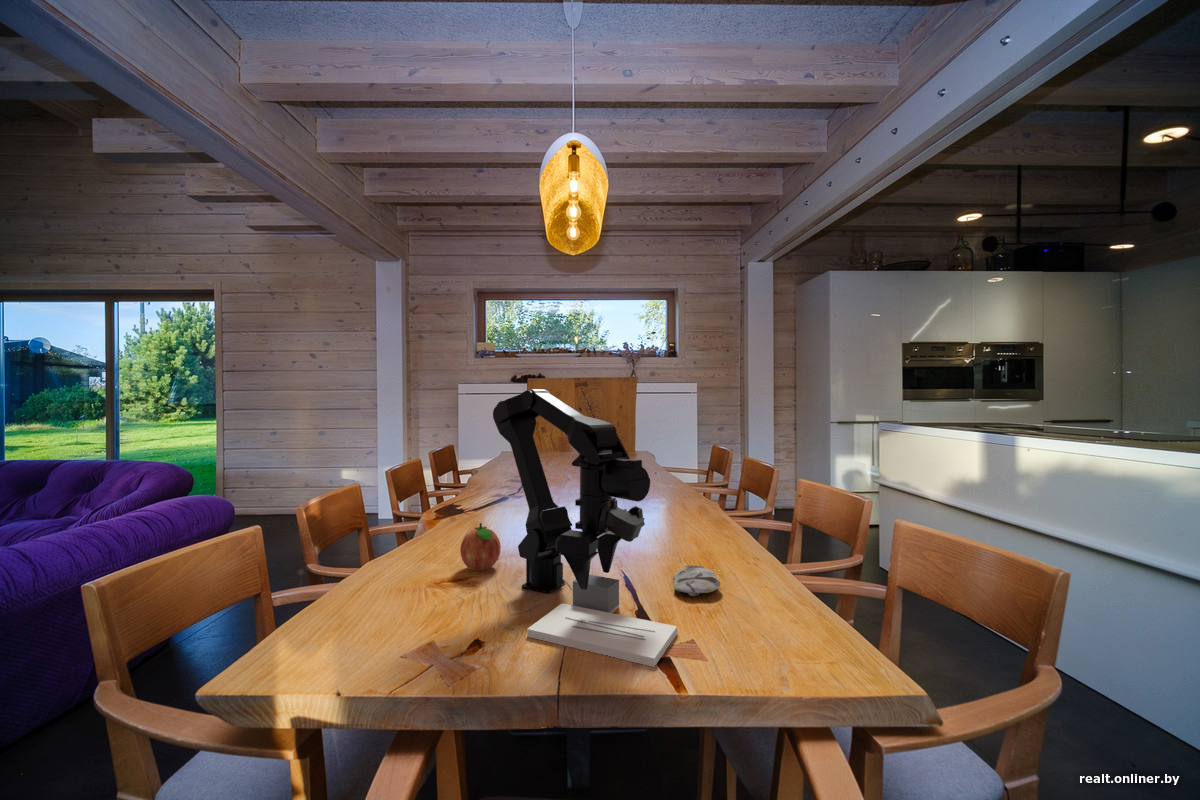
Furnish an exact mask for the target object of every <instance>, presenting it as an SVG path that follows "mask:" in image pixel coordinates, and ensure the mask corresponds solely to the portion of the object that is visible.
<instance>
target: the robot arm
mask: <svg viewBox="0 0 1200 800" xmlns="http://www.w3.org/2000/svg"><path fill="white" fill-rule="evenodd" d="M539 417H542V418H543V419H544V420H546V421H547V422H548V423H550V424H551V425H552V426H553V427H555V428H557V429H558V430H559V431H561V432H562V433H564V434H565V436H566V437H567V440H568V444H569V445H570V446H571V447H572V448H573V449H574V450H575V451H576V452H577V453H578V456H577V457H576V458H575V459H574V460H573V461H572V462H571V466H572V467H576V468H577V467H578V468H579V498H577V499H575V502H574V503H575V505H574V506H576V507H577V506H578V507H579V521H577V522H575V525H574V527H575V528H574V529H572V526H573V523H572V522H571V520H570V517H569V513H568V509H567V508H566V506H563V505H562V506H558V504H556V503H555V502H554V500H553V496H552V493H551V490H550V487H549V484H548V481H547V478H546V474H545V470H544V468H543V465H542V461H541V457H540V454H539V451H538V448H537V445H536V441H535V438H534V434H535V430H536V429H537V428H536V427H537V424H538V423H537V418H539ZM492 418H493V421H494V423H495V426H496V428H497V430H498V433H499V435H501V437H503V438H504V439H505V440H506V441H507V443H509V444H510V447H511V451H512V454H513V458H514V461H515V464H516V467H517V469H516V470H517V471H518V472H517V473H518V474H519V475H518V476H519V478H520V482H521V486H522V489H523V492H524V496H525V499H526V502H527V506H528V513H527V517H526V521H525V529H526V530H525V531H526V535H525V536H524V537H523V539H522V540H521V541H520V543H519V544H518V545H517V549H518V554H519V557H520V558H522V559H525V560H526V561H525V562H526V563H525V565H526V566H525V568H526V570H525V572H526V573H525V575H526V577H525V579H526V581H525V583H523V584H522V585H521V589H525V590H531V591H536V592H539V593H540V592H541V593H546V594H551V593H552V592H554V591H555V590H556V589H558V588H560V587H561V586H563V585H564V584H565V583H566V580H565V579H564V563H563V562H562V556H563V557H564V559H565V560H566V562H567V564H568V566H569V568H570V569H571V571H572V574H573V577H575V580H577V582H578V584H579V586H580V588H581V589H583V590H586V589H587V586H588V580H589V575H590V569H591V563H592V560H593V559H594V558H595V556H597V555H598V559H599V563H600V566H601V568H602V571H603V573H606V574H608V573H610V571H611V566H612V564H613V560H614V557H615V554H616V549H617V547H618V543H620V541H621V540H624V541H625V542H628V543H629V542H630V543H631V542H633V541H634V540H635V539H636V538H639V535H640V533H641V530H642V527H644V526H645V517H644V513H643V509H642V507H639V506H638V505H635V506H632V507H631V508H629V509H627V508H624V509H622V508H620V507H618V500H617V499H621V500H628V501H631V502H637V503H640V502H642V501H643V500H644V499H645V498H646V497H647V495H648V493H650V492H649V491H650V487H651V478H650V476H649V472H648V471H647V469H646V468H644V467H643V460H642V459H638V458H637V459H630V456H629V454H628V453H627V450H626V449H625V446H624V444H623V443H622V441H621V439H620V437H619V435H618V433H617V432H618V430H617V428H616V427H615V425H614V424H612V423H611V422H608V421H605V420H603V419H598V418H595V417H590V416H586V415H584V414H582V413H580V412H579V411H577V410H576V409H574V408H572V407H571V406H570V405H567V404H566V403H565V402H563V401H561V399H559V398H557V397H555V396H554V395H552V393H551V392H550V391H548V390H546V389H543V388H542V389H541V388H529V389H527V390H524V391H523V392H522V393H520V394H517V395H515V396H512V397H510V398H507V399H505V400H500V401H499V402H498V403H497V404H496V406H495V407H494V408H493V411H492ZM575 529H576V530H575Z"/></svg>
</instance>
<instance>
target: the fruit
mask: <svg viewBox="0 0 1200 800" xmlns="http://www.w3.org/2000/svg"><path fill="white" fill-rule="evenodd" d="M459 552H460V558H461V560H462V562H463V564H464V565H465V566H466V567H467V568H468V569H469V570H472V571H486V570H489V569H491V568H492V567H494V566H495V564H496V563H497V562H498V559H499V557H500V556H501V542H500V538H499V537H498V535H497V534H496V533H495V531H493V530H492V529H489V528H488V526H483V523H482V522H480V523H479V526H476V527H474V528H473V529H471V530H470V531H469V532H468V533H466V534H465V536H464V537H463V539H462V541H461V544H460V551H459Z"/></svg>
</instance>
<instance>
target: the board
mask: <svg viewBox="0 0 1200 800" xmlns="http://www.w3.org/2000/svg"><path fill="white" fill-rule="evenodd" d="M526 635H527V638H530V639H531V638H532V639H534V640H535V639H536V640H540V641H545V642H549V643H552V644H557V645H559V646H560V645H561V646H564V647H569V648H572V649H577V650H582V651H586V652H589V651H590V652H591V653H594V654H599V655H602V654H603V655H602V656H606V655H608V656H607V657H610V656H611V658H614V657H615V659H620V660H623V661H628V662H632V663H636V664H640V665H645V666H647V667H653V668H655V667H656V666H657V664H658V662H659V661H660V659H661V658H662V656H664V654H665V653H666V650H667V649H668V648H669V646H670V645H671V643H672V642H673V641H674V640H675V638H676V636H677V635H678V626H676V625H673V624H668V623H663V622H657V621H653V620H648V619H642V618H637V617H633V616H628V615H623V614H617V613H614V612H613V613H608V612H603V611H598V610H593V609H588V608H583V607H578V606H573V604H567V603H561V604H559V605H557V606H556V607H555V608H554V609H552V610H551V611H549V612H548V613H547V614H545V615H544V616H543V617H541V618H540V619H538V621H536V622H535V623H533V624H532V625H530V626H529V627H527V629H526Z"/></svg>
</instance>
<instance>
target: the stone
mask: <svg viewBox="0 0 1200 800" xmlns="http://www.w3.org/2000/svg"><path fill="white" fill-rule="evenodd" d="M672 577H673V578H672V580H673V584H672V585H673V588H674V589H675V590H676V591H677V592H679V593H685V594H688V595H689V596H690V597H697V596H699V595H700V594H704V593H705V594H708V593H712V592H715V591H717V590H718V589H719V588H720V587H721V581H720V580H719V579H718V577H717V575H716V574H715V572H714V571H712V570H711V569H708V568H705V567H704V566H702V565H694V564H693V565H690V564H687V565H685V567H684V568H683V569H680V570H678V571H676V572H675V573H673V576H672Z"/></svg>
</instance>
